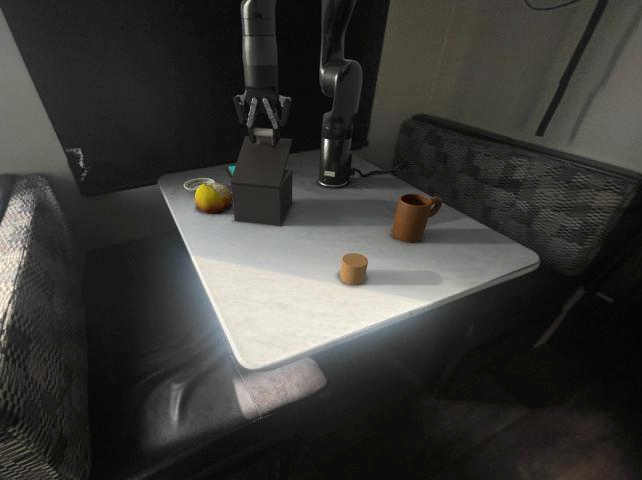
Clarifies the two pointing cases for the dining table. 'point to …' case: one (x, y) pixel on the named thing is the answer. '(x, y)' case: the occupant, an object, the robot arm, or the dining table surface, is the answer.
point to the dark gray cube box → (263, 202)
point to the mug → (413, 216)
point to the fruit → (212, 198)
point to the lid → (262, 161)
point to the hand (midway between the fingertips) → (264, 143)
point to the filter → (353, 268)
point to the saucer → (196, 183)
